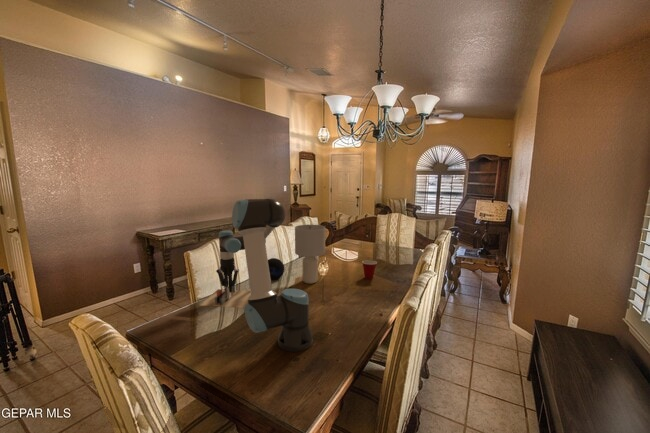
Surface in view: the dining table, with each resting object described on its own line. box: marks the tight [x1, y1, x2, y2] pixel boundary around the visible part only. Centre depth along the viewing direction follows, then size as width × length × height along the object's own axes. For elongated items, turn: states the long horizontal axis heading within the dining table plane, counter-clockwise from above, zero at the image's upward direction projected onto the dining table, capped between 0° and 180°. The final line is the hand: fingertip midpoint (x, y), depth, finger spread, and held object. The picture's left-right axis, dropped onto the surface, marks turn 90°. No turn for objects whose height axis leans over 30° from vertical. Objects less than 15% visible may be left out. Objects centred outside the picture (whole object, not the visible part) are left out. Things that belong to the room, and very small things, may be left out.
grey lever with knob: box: [219, 280, 238, 305], centre depth 165 cm, size 20×5×6 cm, turn 174°
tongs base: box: [215, 284, 236, 305], centre depth 164 cm, size 19×3×5 cm, turn 170°
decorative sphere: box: [268, 257, 285, 281], centre depth 197 cm, size 15×15×15 cm
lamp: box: [294, 224, 326, 285], centre depth 192 cm, size 20×20×39 cm
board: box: [199, 289, 251, 309], centre depth 165 cm, size 26×22×1 cm
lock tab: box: [216, 289, 223, 296], centre depth 159 cm, size 3×2×2 cm, turn 170°
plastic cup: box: [361, 260, 378, 280], centre depth 202 cm, size 11×11×12 cm
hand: (229, 297), depth 163 cm, fingers closed
